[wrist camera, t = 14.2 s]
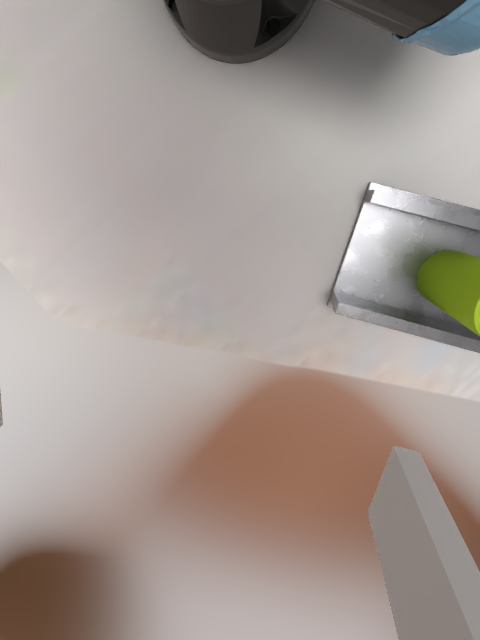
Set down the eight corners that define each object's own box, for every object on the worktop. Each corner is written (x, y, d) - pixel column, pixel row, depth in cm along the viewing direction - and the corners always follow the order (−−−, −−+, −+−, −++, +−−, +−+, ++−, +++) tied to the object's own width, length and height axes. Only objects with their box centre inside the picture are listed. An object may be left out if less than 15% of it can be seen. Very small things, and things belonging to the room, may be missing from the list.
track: (369, 182, 38) (383, 179, 32) (577, 236, 37) (629, 242, 31) (326, 304, 42) (332, 320, 37) (509, 354, 41) (544, 378, 36)
